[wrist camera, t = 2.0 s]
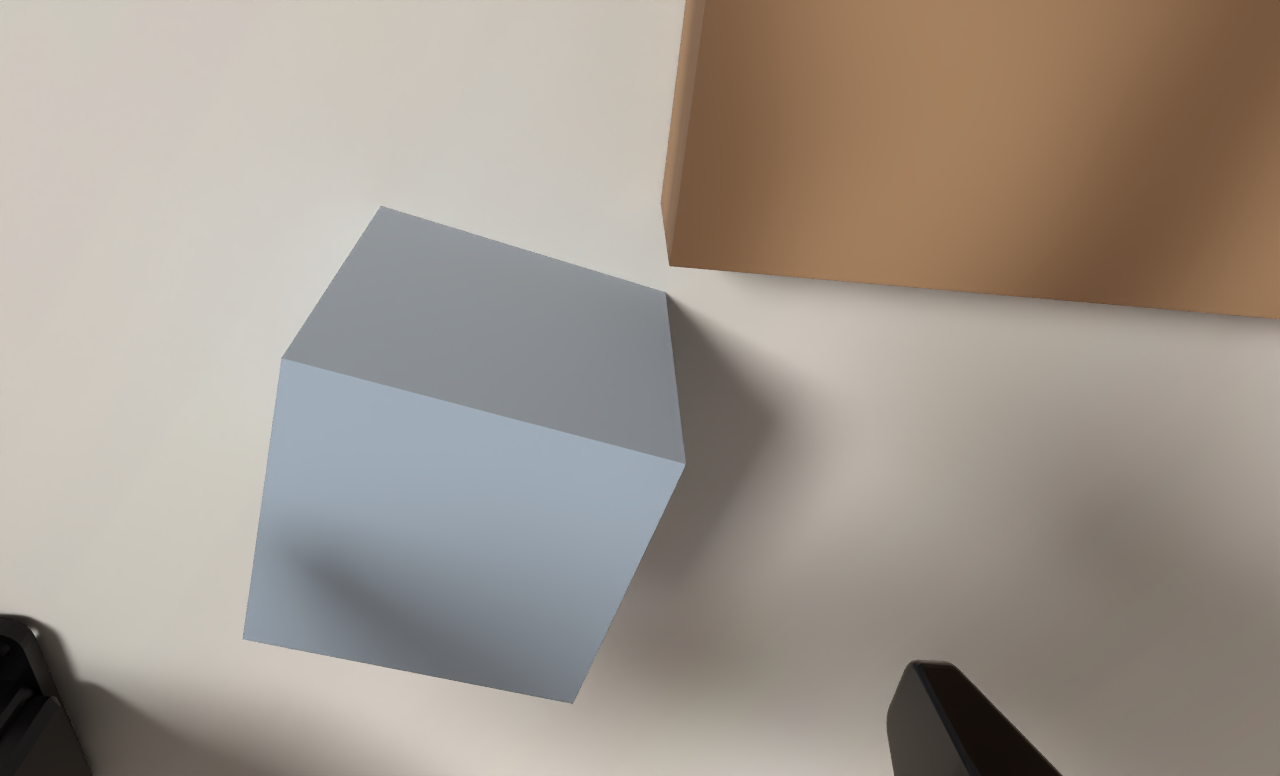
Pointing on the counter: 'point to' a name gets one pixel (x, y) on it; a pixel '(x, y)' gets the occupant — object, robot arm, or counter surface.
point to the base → (984, 147)
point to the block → (465, 461)
